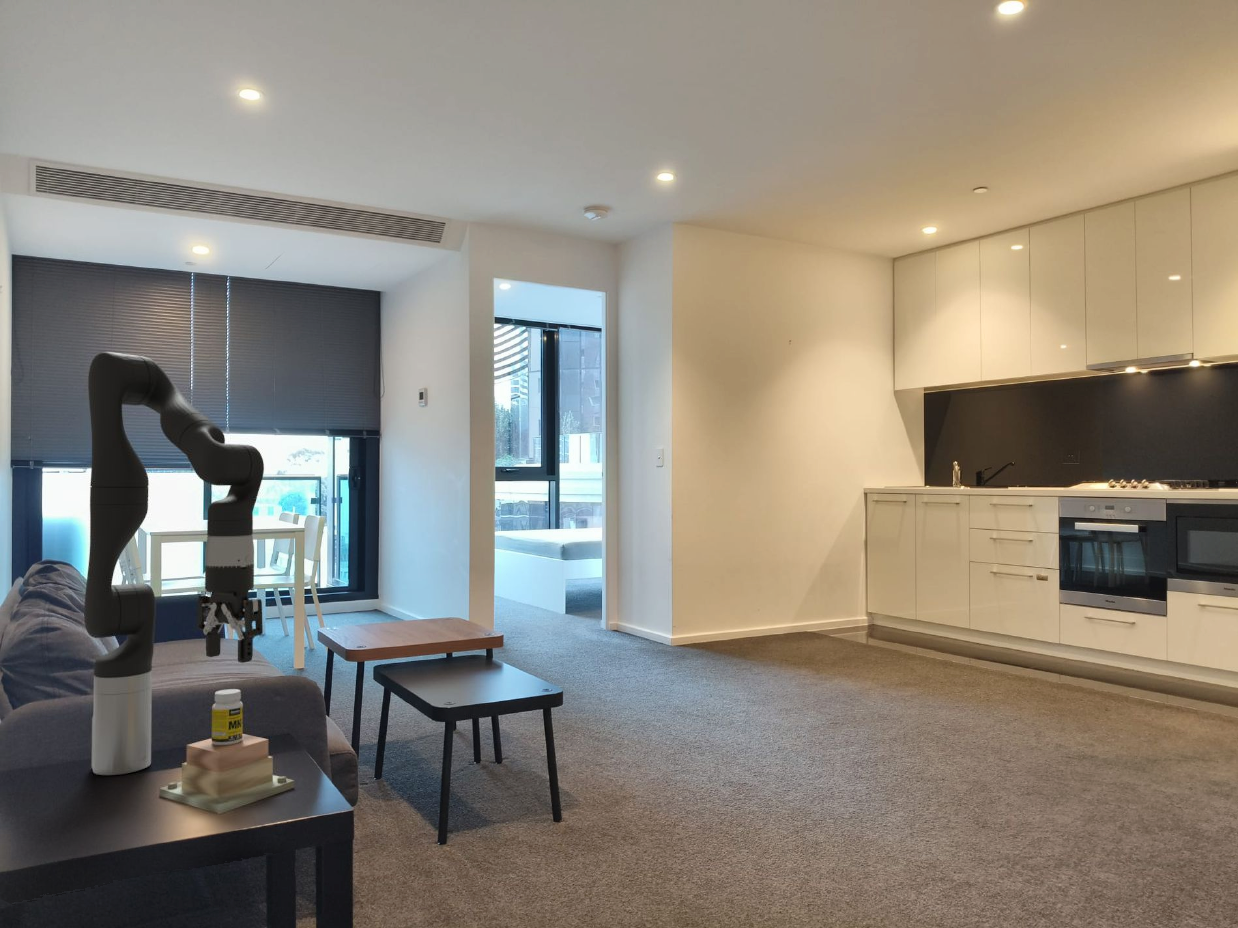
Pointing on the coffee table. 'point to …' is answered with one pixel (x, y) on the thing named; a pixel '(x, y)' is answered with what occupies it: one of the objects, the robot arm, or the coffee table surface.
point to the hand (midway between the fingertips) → (228, 658)
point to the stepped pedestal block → (226, 775)
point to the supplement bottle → (227, 717)
